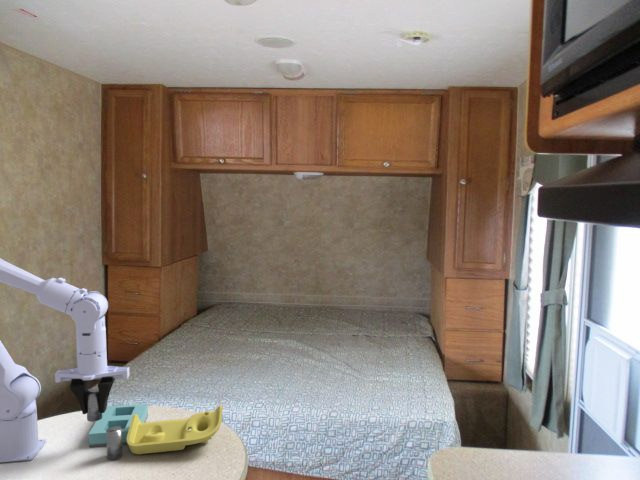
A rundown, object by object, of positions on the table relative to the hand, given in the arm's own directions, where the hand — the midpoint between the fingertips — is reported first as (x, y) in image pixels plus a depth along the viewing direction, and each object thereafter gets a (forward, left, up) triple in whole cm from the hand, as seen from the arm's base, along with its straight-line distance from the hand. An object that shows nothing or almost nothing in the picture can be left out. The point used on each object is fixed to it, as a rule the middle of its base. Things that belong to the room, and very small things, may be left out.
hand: (94, 411), depth 107 cm
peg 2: (+5, -4, -8) cm, 11 cm away
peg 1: (0, 0, -2) cm, 2 cm away
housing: (+3, +8, -8) cm, 12 cm away
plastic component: (+17, -1, -8) cm, 19 cm away
